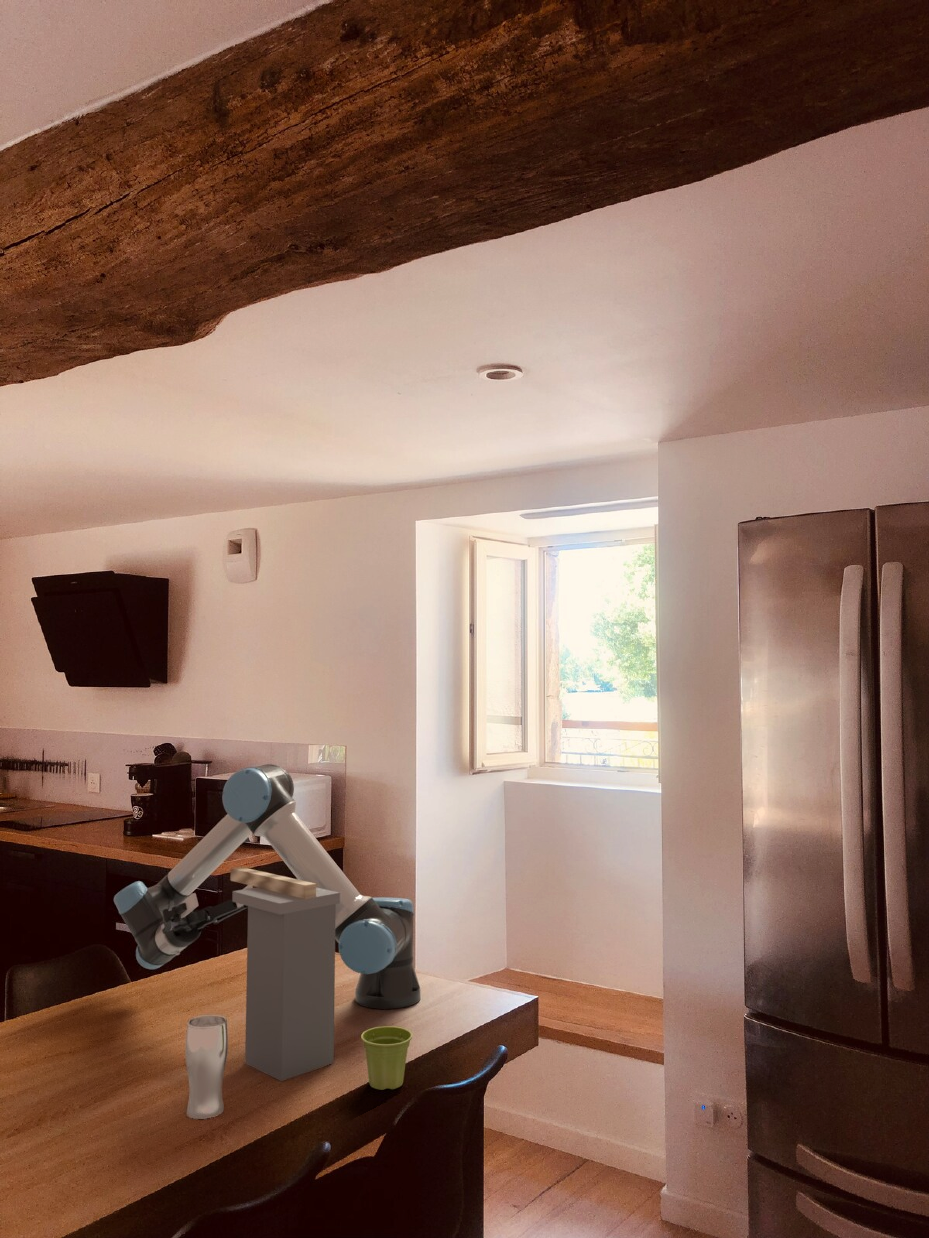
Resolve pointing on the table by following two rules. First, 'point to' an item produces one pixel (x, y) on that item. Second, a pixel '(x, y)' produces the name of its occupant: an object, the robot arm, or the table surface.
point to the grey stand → (289, 981)
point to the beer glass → (206, 1064)
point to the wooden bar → (274, 882)
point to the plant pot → (386, 1055)
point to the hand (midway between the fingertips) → (224, 894)
